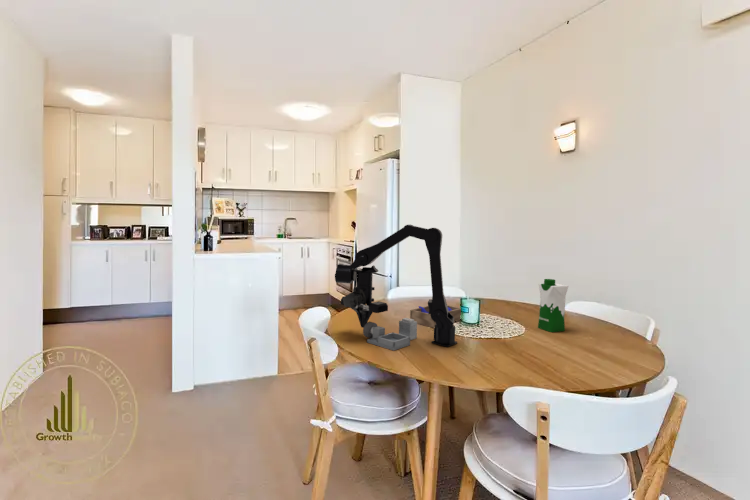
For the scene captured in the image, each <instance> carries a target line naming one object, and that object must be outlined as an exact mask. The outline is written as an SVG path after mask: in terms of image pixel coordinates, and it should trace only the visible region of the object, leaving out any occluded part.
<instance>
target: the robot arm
mask: <svg viewBox="0 0 750 500" xmlns="http://www.w3.org/2000/svg"><path fill="white" fill-rule="evenodd" d="M409 237H412V238H415V239H419V240H421V241H424V243H425V246H426V249H427V250H426V251H427V253H428V257H429V266H430V267H429V268H430V280H431V291H432V297H431V299H428V301H427V306H428V307H429V313H428V314H430V316H431V319H432V320H433V321H434V322H436V324H435V328H433V340H432V341H431V343H432V344H435V345H439V346H442V347H446V348H448V347H451V346H454V345H457V344H458V341H456V340H455V339H456V326H454V323H455V322H454V317H453V316H452V315H451V314H450V313H449V312H448V306H449V305H448V304H447V300H446V297H445V293H444V284H443V271H442V270H443V269H442V259H441V257H442V256H441V251H442V245H443V233H442V230H440V229H439V228H437V227H430V228H425V227H420V226H417V225H413V224H405V225H404V226H403V227H402V228H400V229H399V230H397V231H395V232H394V233H392V234H391V235H389V236H387V237H385V238H384V239H382V240H381V241H379V242H378V243H375V244H374V245H371V246H368V247H366V248H363V249H361V250H359V251H357V252H356V253H355V257H354V258H355V259H354V260H353V262H352V263H351V264H343V263H338V264H336V265H337V266H336V269H335V273H334V281H335V283H337V284H353V282H355V285H356V286H354V287H353V288H352V292H350V293H348V294H347V295H345V296H342V297H341V299H340V305H342V306H344V307H345V308H350V309H351V310H353V311H354V312H355V313H356V315H357V318H358V321H359V325H360V328H364V326H365V324H366V323H367V322H369V319H370V318H371V316H372V315H373V313H374V314H379V313H384V312H388V311H389V305H388V303H387V302H383V301H375V298H373V291H375V287H374V286H373V277H374V276H373V274H377V273H378V272H379V270H378V268H376V266H375V265H372V266H370V267H367V266H369V265H371V264H372V263H374V262H375V261H376V260H377V259H378V258H379V257H380V256H381V255H383V254H384V253H385V252H387V251H388V250H389V249H391V248H393V247H395V246H396V245H398V244H399V243H401V242H403V241H404V240H406V239H407V238H409ZM360 267H362V268H361V269H359V268H360Z"/></svg>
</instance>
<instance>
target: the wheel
mask: <svg viewBox="0 0 750 500" xmlns="http://www.w3.org/2000/svg"><path fill="white" fill-rule="evenodd" d="M378 326H379V325H378V324H377V323H375V322H373V321H368V322H367V323H366V324H365V326H364V328H363V330H362V333H363V336H364V337H365V338H368V339H371V338H373V334H371V333H370V330H371V328H372V327H378Z"/></svg>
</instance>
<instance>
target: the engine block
mask: <svg viewBox="0 0 750 500" xmlns="http://www.w3.org/2000/svg"><path fill="white" fill-rule="evenodd" d="M398 321H399V322H398V334H401V335H404V336H408V337H410V341H412V340H415V339H417V338H418V335H417V334H418V324H417V322H416V321H414V319H410V317H404V318H402V319H401V320H398Z"/></svg>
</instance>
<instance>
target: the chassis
mask: <svg viewBox="0 0 750 500" xmlns="http://www.w3.org/2000/svg"><path fill="white" fill-rule="evenodd" d="M377 326H378V327H372V328H371V330H370V333H371V334H373V338H368V339H366V343H367V344H370V345H374V346H378V347H381V348H384V349H387V350H390V351H397V350H400V349H401V348H402V349H403V348H405V347H408V346H411V340H410V337H408V336H404V335H401V334H399V333H397V332H390V333H387V334H386V328H385V327H383V326H380V325H377Z"/></svg>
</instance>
